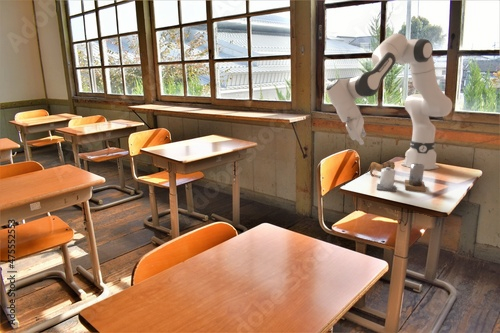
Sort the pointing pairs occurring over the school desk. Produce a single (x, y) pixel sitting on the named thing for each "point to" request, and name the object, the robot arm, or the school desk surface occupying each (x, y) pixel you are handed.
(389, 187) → the white canister
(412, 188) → the caddy
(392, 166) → the lion figurine
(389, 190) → the coaster
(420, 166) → the flask
